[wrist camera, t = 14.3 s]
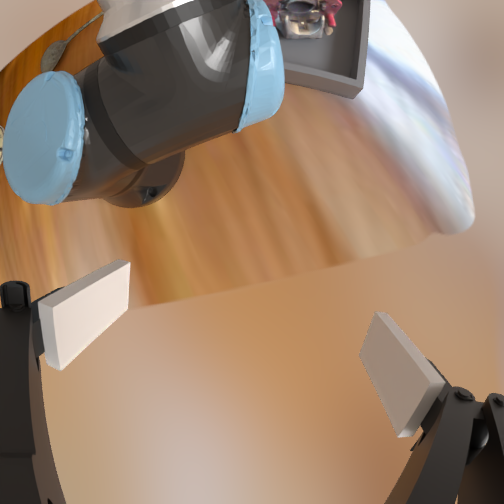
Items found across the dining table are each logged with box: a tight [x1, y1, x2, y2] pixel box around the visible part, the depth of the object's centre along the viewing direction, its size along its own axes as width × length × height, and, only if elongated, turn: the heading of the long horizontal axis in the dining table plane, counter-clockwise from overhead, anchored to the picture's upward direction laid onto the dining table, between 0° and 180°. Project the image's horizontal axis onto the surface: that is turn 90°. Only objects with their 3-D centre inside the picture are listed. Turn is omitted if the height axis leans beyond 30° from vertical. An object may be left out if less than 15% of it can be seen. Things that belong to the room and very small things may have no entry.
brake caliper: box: [263, 0, 342, 39], centre depth 29 cm, size 11×11×12 cm
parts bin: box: [275, 0, 370, 99], centre depth 31 cm, size 20×20×5 cm
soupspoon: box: [41, 12, 104, 73], centre depth 34 cm, size 22×3×7 cm
